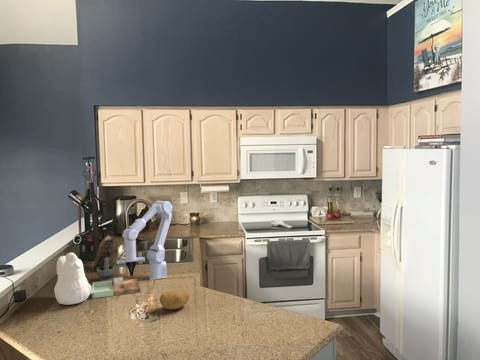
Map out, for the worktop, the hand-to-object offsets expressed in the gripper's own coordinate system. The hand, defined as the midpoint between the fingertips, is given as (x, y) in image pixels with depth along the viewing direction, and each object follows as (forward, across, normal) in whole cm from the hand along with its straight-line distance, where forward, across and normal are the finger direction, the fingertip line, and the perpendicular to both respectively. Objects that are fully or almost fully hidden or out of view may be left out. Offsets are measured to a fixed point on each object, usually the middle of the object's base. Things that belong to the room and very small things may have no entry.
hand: (131, 275), depth 207 cm
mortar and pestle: (+5, +13, -15) cm, 21 cm away
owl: (+5, +14, -38) cm, 41 cm away
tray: (+5, +15, +5) cm, 17 cm away
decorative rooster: (+5, +29, +11) cm, 31 cm away
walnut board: (+5, +3, +5) cm, 8 cm away
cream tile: (+3, +7, 0) cm, 8 cm away
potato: (+5, -16, +42) cm, 45 cm away
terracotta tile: (+3, +2, +8) cm, 8 cm away
